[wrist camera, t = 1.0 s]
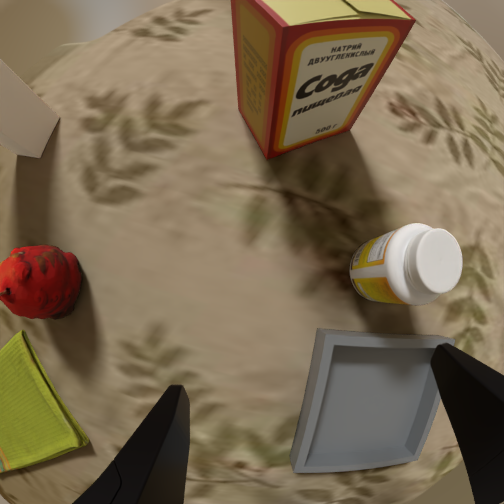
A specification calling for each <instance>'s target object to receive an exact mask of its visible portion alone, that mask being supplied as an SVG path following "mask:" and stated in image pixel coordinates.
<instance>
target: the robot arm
mask: <svg viewBox="0 0 504 504" xmlns="http://www.w3.org/2000/svg"><path fill="white" fill-rule="evenodd" d="M430 365H431V368H432V371H433V374H434V378H435V381H436V384H437V387H438V390H439V394H440V397H441V399H442V402H443V405H444V407H445V409H446V412H447V415H448V417H449V420H450V422H451V425H452V428H453V430H454V433H455V436H456V439H457V442H458V445H459V448H460V451H461V454H462V457H463V460H464V463H465V466H466V470H467V473H468V476H469V481H470V484H471V488H472V492H473V496H474V501H475V504H499V503H501V502H503V501H504V375H502V374H501V373H499V372H497V371H495V370H494V369H492V368H490V367H489V366H487V365H485V364H484V363H482V362H480V361H478V360H477V359H475V358H473V357H472V356H470V355H468V354H466V353H465V352H463V351H461V350H459V349H458V348H456V347H454V346H453V345H451V344H449V343H447V342H445V343H441V344H439V345H437V346H436V348H435V351H434V353H433V355H432V357H431V360H430ZM189 446H190V402H189V398H188V395H187V393H186V391H185V388H184V386H183V385H170V386H169V387H168V388H167V390H166V391H165V392H164V394H163V395H162V396H161V398H160V399H159V400H158V402H157V403H156V404H155V406H154V407H153V408H152V410H151V411H150V412H149V414H148V415H147V416H146V418H145V419H144V420H143V421H142V423H141V424H140V425H139V427H138V428H137V429H136V431H135V432H134V433H133V435H132V436H131V437H130V439H129V440H128V441H127V442H126V444H125V445H124V446H123V448H122V449H121V450H120V452H119V453H118V454H117V455H116V457H115V458H114V460H112V462H111V463H110V464H109V466H108V467H107V468H106V469H105V471H104V472H103V473H102V474H101V475H100V477H99V478H98V479H97V480H96V481H95V482H94V483H93V484H92V485H91V486H90V487H89V488H88V489H87V490H86V491H85V492H84V493H83V494H82V495H81V496H80V497H79V498H77V499H76V500H75V501H74V502H73V503H72V504H183V503H184V492H185V483H186V473H187V464H188V455H189Z"/></svg>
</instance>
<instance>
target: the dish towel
mask: <svg viewBox="0 0 504 504" xmlns="http://www.w3.org/2000/svg"><path fill="white" fill-rule="evenodd" d="M88 443H89V439H88V437H87V436H86V434H85V433H84V431H83V430H82V428H81V427H80V426H79V424H78V423H77V421H76V420H75V419H74V417H73V416H72V414H71V413H70V411H69V410H68V408H67V407H66V406H65V404H64V403H63V401H62V400H61V398H60V396H59V395H58V393H57V391H56V390H55V388H54V386H53V384H52V383H51V381H50V379H49V377H48V376H47V374H46V372H45V370H44V368H43V366H42V365H41V363H40V361H39V359H38V357H37V355H36V353H35V351H34V349H33V347H32V345H31V343H30V341H29V339H28V337H27V334H26V332H25V330H21V331H20V332H18V333H17V334H16V335H15V336H14V337H13V338H12V339H11V340H10V341H9V342H8V343H7V344H6V345H5V346H4V347H3V348H2V349H1V350H0V473H2V472H7V471H12V470H15V469H20V468H23V467H27V466H30V465H34V464H36V463H40V462H43V461H46V460H49V459H52V458H55V457H58V456H60V455H63V454H65V453H67V452H70V451H73V450H75V449H78V448H80V447H83V446H86V445H87V444H88Z"/></svg>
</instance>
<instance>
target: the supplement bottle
mask: <svg viewBox="0 0 504 504" xmlns="http://www.w3.org/2000/svg"><path fill="white" fill-rule="evenodd" d="M461 272H462V253H461V250H460V247H459V244H458V242H457V241H456V239H455V238H454V237H453V235H452V234H450V233H449V232H448V231H446V230H444V229H439V228H436V229H433V228H431V227H429V226H427V225H424V224H420V223H413V224H409V225H406V226H403V227H401V228H398V229H396V230H394V231H391V232H389V233H386V234H384V235H381V236H379V237H377V238H374V239H372V240H369V241H367V242H365V243H363V244H362V245H361V246H360V247H359V248H358V249H357V250H356V251H355V253H354V254H353V257H352V259H351V263H350V278H351V281H352V284H353V286H354V288H355V289H356V291H357V292H358V293H359V294H360V295H361V296H362V297H364V298H366V299H368V300H371V301H377V302H387V303H396V304H406V305H425V304H428V303H430V302H432V301H434V300H435V299H436V298H438V297H439V296H440V294H443V293H447V292H449V291H450V290H451V289H453V288H454V286H455V285H456V284H457V282H458V280H459V278H460V276H461Z"/></svg>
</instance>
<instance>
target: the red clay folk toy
mask: <svg viewBox="0 0 504 504" xmlns="http://www.w3.org/2000/svg"><path fill="white" fill-rule="evenodd" d="M78 265H79V263H78V260H77V258H76V256H75V255H74V254H72V253H70V252H68V253H65V252H63V251H62V250H60V249H59V248H58V247H56V246H49V245H46V244H44V245H39V246H28V247H21V248H14V249H13V251H11V254H10V257H8V258H7V259H6V260H4V261H2V262H1V263H0V300H1V301H2V302H3V303H4V304H5V305H6V306H7V307H8V308H9V309H10V310H11V312H12V313H14V314H16V315H18V316H25V317H27V318H30V319H35V318H39V319H46V318H52V319H61V318H64V317H65V316H67V315H69V314H71V312H72V311H73V310H74V303H75V301H76V299H77V297H78V294H79V290H80V286H81V278H82V276H81V271H80V270H79V268H78Z"/></svg>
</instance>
